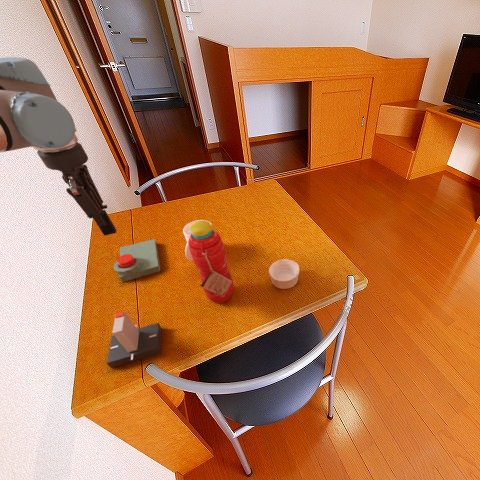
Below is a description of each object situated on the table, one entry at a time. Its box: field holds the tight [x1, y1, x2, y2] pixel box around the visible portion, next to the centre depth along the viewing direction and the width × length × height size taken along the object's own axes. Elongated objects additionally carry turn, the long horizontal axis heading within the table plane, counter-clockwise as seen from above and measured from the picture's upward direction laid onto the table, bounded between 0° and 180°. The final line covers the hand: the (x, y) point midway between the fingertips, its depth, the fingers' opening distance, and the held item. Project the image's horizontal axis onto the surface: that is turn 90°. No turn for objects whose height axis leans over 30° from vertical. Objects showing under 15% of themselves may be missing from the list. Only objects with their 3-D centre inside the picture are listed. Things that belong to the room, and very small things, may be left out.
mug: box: [182, 219, 213, 262], centre depth 86 cm, size 12×8×10 cm
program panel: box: [106, 322, 163, 369], centre depth 64 cm, size 10×9×3 cm
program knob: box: [111, 311, 139, 352], centre depth 61 cm, size 5×2×8 cm, turn 22°
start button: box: [116, 254, 135, 268], centre depth 80 cm, size 4×4×2 cm
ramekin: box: [268, 258, 300, 290], centre depth 81 cm, size 9×9×4 cm
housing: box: [113, 238, 161, 283], centre depth 85 cm, size 14×11×4 cm
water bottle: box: [188, 220, 235, 304], centre depth 68 cm, size 12×8×25 cm, turn 18°
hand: (110, 232), depth 73 cm, fingers closed
